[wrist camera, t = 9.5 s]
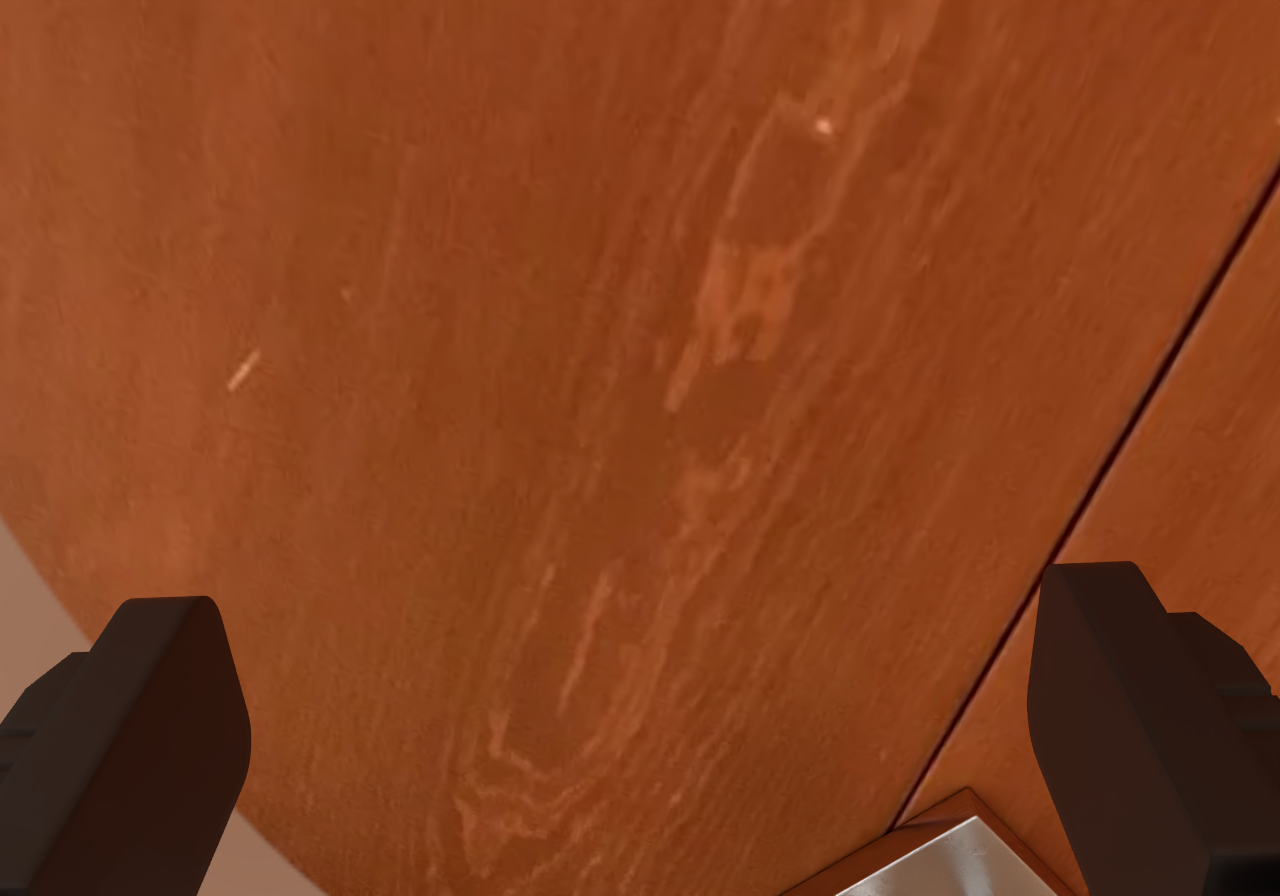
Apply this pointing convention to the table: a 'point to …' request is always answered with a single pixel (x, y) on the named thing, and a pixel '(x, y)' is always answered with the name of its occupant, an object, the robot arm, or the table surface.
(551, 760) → the table surface
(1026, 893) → the bracket
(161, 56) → the table surface
